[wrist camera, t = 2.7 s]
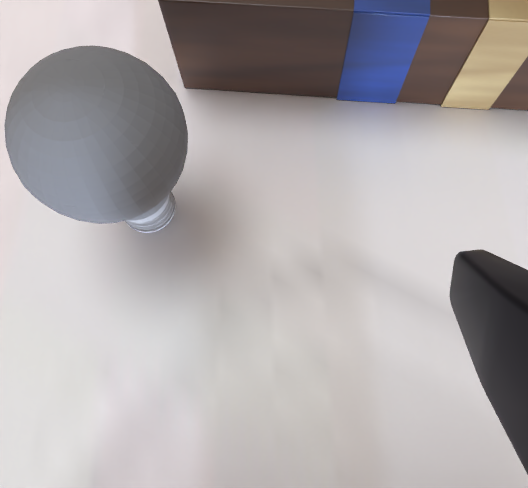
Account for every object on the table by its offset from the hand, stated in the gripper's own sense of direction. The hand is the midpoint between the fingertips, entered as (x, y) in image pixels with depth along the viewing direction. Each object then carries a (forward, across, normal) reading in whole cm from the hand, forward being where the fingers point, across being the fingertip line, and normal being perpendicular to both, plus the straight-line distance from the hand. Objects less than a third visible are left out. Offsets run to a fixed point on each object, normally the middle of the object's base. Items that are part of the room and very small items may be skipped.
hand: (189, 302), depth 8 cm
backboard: (+20, -8, +1) cm, 22 cm away
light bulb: (+15, +4, +6) cm, 16 cm away
